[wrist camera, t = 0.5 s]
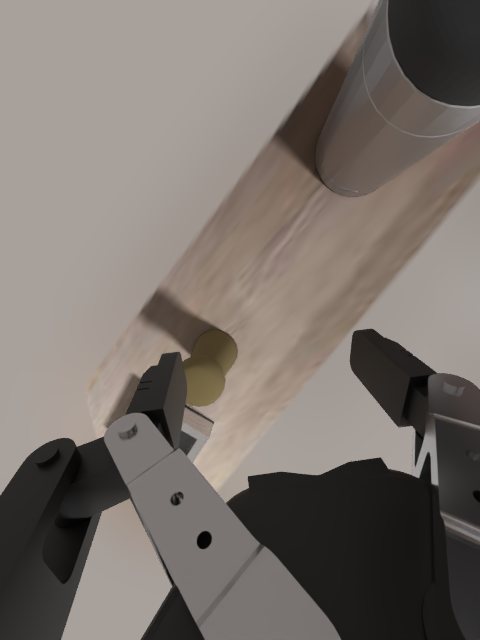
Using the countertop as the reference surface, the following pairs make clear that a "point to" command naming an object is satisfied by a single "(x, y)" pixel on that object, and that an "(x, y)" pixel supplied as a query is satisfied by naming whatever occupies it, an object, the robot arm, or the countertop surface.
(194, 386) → the cork
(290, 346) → the countertop surface
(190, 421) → the grey shallow square box
